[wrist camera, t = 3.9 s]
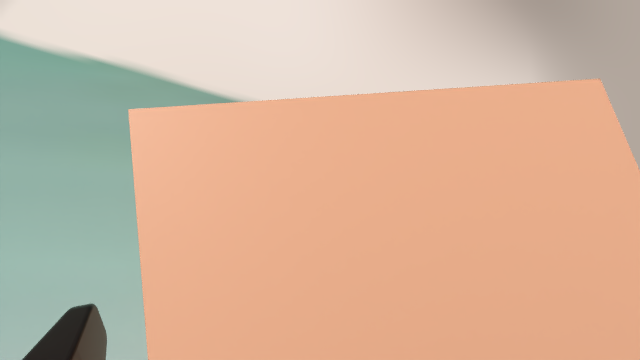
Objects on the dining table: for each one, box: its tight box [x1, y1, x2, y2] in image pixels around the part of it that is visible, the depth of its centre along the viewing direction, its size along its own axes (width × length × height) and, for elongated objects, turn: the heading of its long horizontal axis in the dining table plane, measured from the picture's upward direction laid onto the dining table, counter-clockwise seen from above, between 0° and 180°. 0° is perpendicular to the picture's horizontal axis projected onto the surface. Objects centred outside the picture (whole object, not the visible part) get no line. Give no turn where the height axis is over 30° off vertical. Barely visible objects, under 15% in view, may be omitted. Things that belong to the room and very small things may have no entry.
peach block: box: [128, 79, 640, 360], centre depth 9 cm, size 5×5×13 cm
